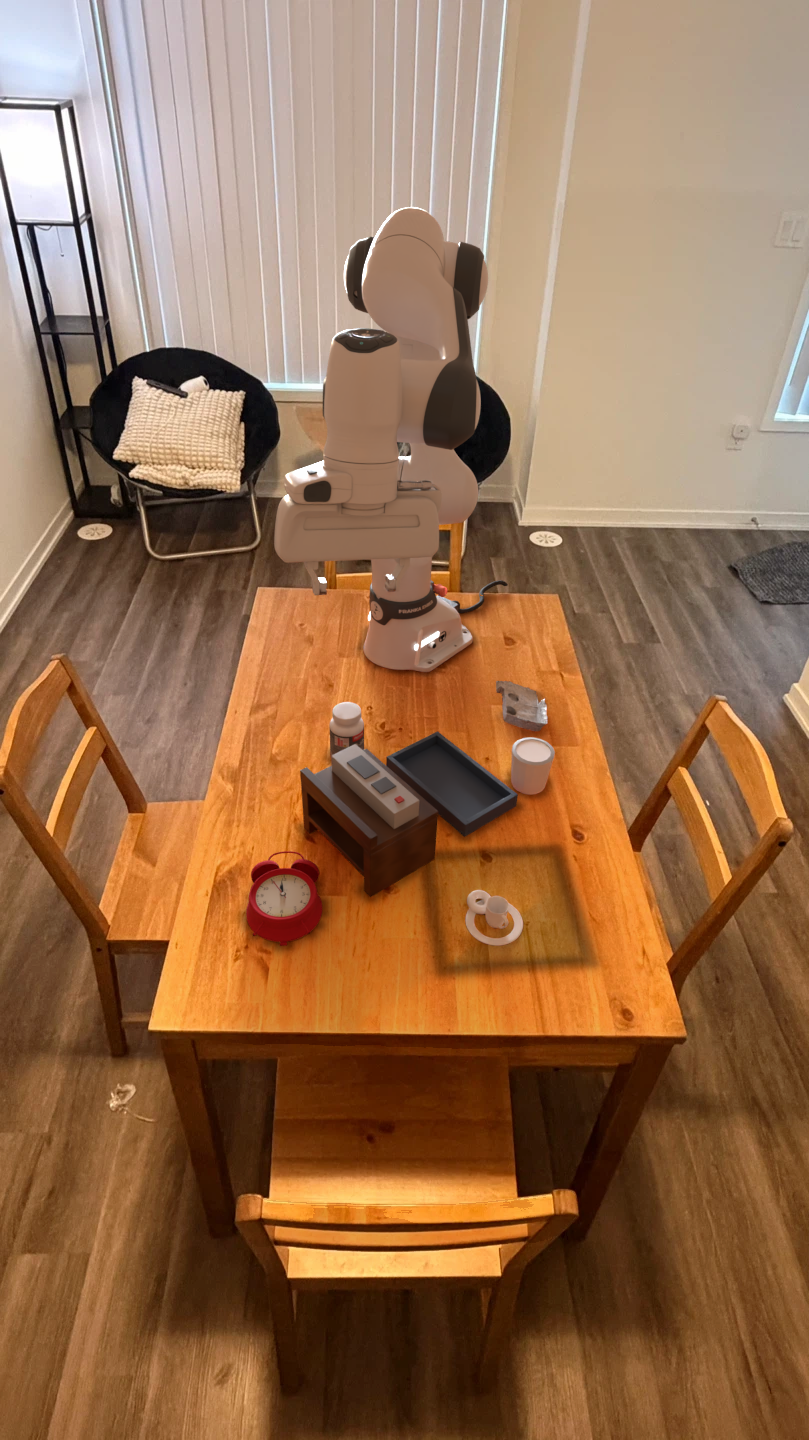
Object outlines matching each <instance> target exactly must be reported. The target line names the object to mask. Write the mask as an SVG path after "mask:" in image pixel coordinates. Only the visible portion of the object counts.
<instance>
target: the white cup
mask: <svg viewBox="0 0 809 1440" xmlns="http://www.w3.org/2000/svg"><path fill="white" fill-rule="evenodd" d="M555 755H556V751H555V749H554V747H553V746H552V745H551V744H550V743H549V742H548V741H546V740H544V739H542V738H539V737H533V736H532V737H531V736H530V737H523V738H520V739H518V740H516V741H515V742H514V743H513V744H512V747H511V764H510V765H511V769H510V770H511V771H510V783H511V786H512V788H514V789H515V790H516V791H517V792H520V793H521V794H525V795H529V796H530V795H537V794H539V793H542V792H543V791H544V790H545V789H546V785H547V782H548V778H549V776H550V772H551V770H552V766H553V762H554V758H555Z"/></svg>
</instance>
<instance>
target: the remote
mask: <svg viewBox="0 0 809 1440" xmlns="http://www.w3.org/2000/svg"><path fill="white" fill-rule="evenodd" d="M330 760H331V766H332V771H333V772H334V773H335V774H336V775H337V776H338V777H339V778H340V779H341V780H342V781H343V782H344V783H345V784H346V785H348V786H349V787H350V788H351V789H352V790H353V791H354V792H355V793H356V794H357V795H358V796H359V797H360V798H361V799H362V800H363V801H365V802H366V803H367V804H368V805H369V806H370V807H371V808H372V809H373V810H374V811H375V812H376V813H377V814H378V815H379V816H380V817H382V818H383V819H384V820H385V821H386V822H387V823H388V824H389V825H390V826H391V827H392V828H393V829H395V828H397V827H399V826H401V825H403V824H404V823H406V822H408V821H410V820H412V819H413V818H415V817H417V816H419V800H418V799H417V798H416V797H415V796H414V795H413V794H412V793H410V792H409V791H408V790H407V789H406V788H405V787H404V786H402V785H401V784H400V783H399V782H398V781H397V780H396V779H395V778H393V777H392V776H391V775H390V774H389V773H388V772H387V771H385V770H384V769H383V768H382V767H381V766H380V765H379V764H378V763H376V762H375V761H374V760H373V759H372V758H371V757H370V756H368V755H367V754H366V753H365V752H364V751H363V750H362V749H361V748H359V747H358V746H357V745H356V744H354V745H352V746H350V747H348V748H346V749H344V750H342V751H340V752H338V753H336V754H334V755H332V756H330Z"/></svg>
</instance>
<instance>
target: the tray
mask: <svg viewBox="0 0 809 1440" xmlns="http://www.w3.org/2000/svg"><path fill="white" fill-rule="evenodd" d="M385 761H386V762H385V763H386V764H385V765H386V766H387V767H388V768H389V769H390V770H392V771H393V772H394V773H395V774H396V775H397V776H398V777H400V778H401V779H402V780H403V781H404V782H405V783H406V784H408V785H409V786H410V787H411V788H412V789H413V790H414V791H416V792H417V793H418V794H419V795H420V796H421V797H422V798H424V799H425V800H426V801H427V802H428V803H429V804H430V805H432V806H433V807H434V808H435V809H436V810H437V811H438V816H440V817H441V818H442V819H443V820H444V821H445V822H446V823H448V825H450V827H452V828H453V829H454V830H455V831H457V832H458V833H459V834H460V835H461V836H462V837H464V838H466V837H468V836H470V834H472V833H474V832H475V831H478V830H479V829H481V828H483V827H484V826H485V825H487V824H489V823H491V822H492V821H494V820H495V819H497V818H499V817H501V816H502V815H504V814H506V813H507V812H509V811H512V810H513V809H514V808H517V804H518V797H519V794H518V793H517V792H515V791H514V790H513V789H512V788H510V786H508V785H507V784H505V783H504V782H503V781H501V780H500V779H499V778H497V776H495V775H494V774H493V773H491V772H490V771H489V770H487V769H486V768H485V767H484V766H483V765H481V764H480V763H479V762H477V761H476V760H475V759H474V758H473V757H471V756H470V755H468V754H467V753H466V752H465V751H463V750H462V749H461V748H459V747H458V746H457V745H456V744H454V742H453V741H451V740H450V739H448V738H447V737H446V736H444V735H443V734H442V733H441V732H439V731H435V732H433V733H431V734H428V735H427V736H425V737H423V738H421V739H418V740H417V741H415V742H413V743H411V744H409V745H407V746H405V747H403V748H401V749H399V750H396V751H395V752H393V753H391V754H389V755H387V756H386V760H385Z"/></svg>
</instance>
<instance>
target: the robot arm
mask: <svg viewBox="0 0 809 1440" xmlns="http://www.w3.org/2000/svg"><path fill="white" fill-rule="evenodd" d="M343 282H344V288H345V290H346V295H347V299H348V301H349V303H350V304H351V305H352V307H353V308H354V310H357V311H359V312H363V313H365V314H368V315H369V317H370V318H371V319H372V321H373V322H374V323H375V324H376V325H377V326H378V327H379V328H381V329H378V328H377V329H376V328H371V327H370V328H367V327H365V328H364V327H360V328H359V327H358V328H357V327H355V328H353V329H345V330H342V331H340V332H338V333H336V334H335V335H334V336H333V338H332V340H331V343H330V348H329V353H328V359H327V365H326V373H325V377H324V379H323V383H322V417H323V418H324V420H325V421H324V422H325V424H326V440H325V444H324V447H323V457H322V459H323V460H322V461H321V460H320V461H319V462H316V463H313V464H310V465H307V466H304V467H302V468H301V467H300V468H298V469H295V470H292V471H289V472H288V473H286V474H285V475H284V476H283V477H284V478H283V486H284V490H285V493H286V495H284V496H283V497H282V498H281V499H280V501H279V504H278V507H277V509H276V516H275V517H276V518H275V524H274V535H273V536H274V537H273V542H274V543H273V544H274V545H273V546H274V550H275V554H276V555H277V556H278V557H279V558H280V560H281V561H283V563H303V567H304V568H305V570H306V571H307V573H308V575H309V576H310V578H311V582H312V585H311V586H312V587H311V588H312V593H313V595H314V596H326V595H328V590H327V588H328V581H327V580H326V578H325V577H318V575H317V573H316V572H315V571H317V570H318V569H319V562H338V561H339V562H341V561H365V560H366V561H367V560H369V561H370V563H371V564H370V565H371V583H370V585H369V603H368V604H369V614H368V615H367V620H368V628H367V633H366V637H365V641H364V643H363V647H362V648H363V649H362V650H363V654H364V656H365V657H366V658H367V659H368V660H369V661H370V662H372V664H375V665H377V666H379V667H382V668H385V669H390V670H396V671H406V670H407V671H408V670H409V671H410V670H411V671H416V672H420V673H429V672H432V671H433V670H435V669H436V668H438V667H440V665H442V664H443V663H445V662H446V661H448V660H449V659H451V658H452V657H454V656H455V655H457V654H458V653H460V652H461V651H463V650H464V649H465V648H467V647H468V646H470V645H472V643H473V642H474V641H473V640H474V639H473V634H472V633H471V631H470V630H469V629H468V628H467V627H466V626H465V625H464V624H462V618H461V615H460V614H466V613H471V612H473V611H475V610H477V609H479V608H481V607H482V606H483V605H484V603H485V593H486V592H487V591H488V590H490V589H491V588H493V587H496V586H503V587H507V586H508V585H509V584H508V583H507V582H506V581H505V580H500V579H499V580H495V581H492V582H490V583H488V584H486V585H485V586H484V587H482V588H481V589H480V590H479V592H478V593H479V594H478V596H479V601H478V602H477V603H475V604H473V605H472V606H470V607H466V608H461V603H460V602H459V601H458V600H451V599H448V598H446V596H447V595H448V591H449V590H448V588H447V587H446V586H443V585H442V584H441V583H437V584H435V581H433V580H432V569H433V557H434V555H436V554H437V552H438V551H439V549H440V526H442V525H443V526H445V525H454V524H462V523H464V522H465V521H467V520H468V519H469V517H471V515H472V514H473V513H474V511H475V509H476V506H477V504H478V500H479V486H478V480H477V478H476V476H475V474H474V472H473V471H472V469H471V468H470V467H469V466H468V465H467V464H466V463H465V462H464V461H463V460H462V459H461V458H460V457H459V456H458V454H457V453H456V451H455V449H456V448H458V447H459V446H460V445H462V444H464V443H465V442H466V441H468V439H470V438H472V436H473V435H474V434H475V431H476V429H477V426H478V424H479V421H480V415H481V406H482V405H481V402H482V401H481V390H480V386H479V382H478V379H477V373H476V369H475V366H474V365H475V364H474V359H473V351H472V345H471V336H470V335H471V333H470V327H469V320H470V319H472V318H473V316H474V315H475V314H477V313H478V312H479V310H480V306H481V305H482V304H483V302H484V300H485V298H486V293H487V292H488V291H487V290H488V285H489V271H488V267H487V263H486V260H485V254H484V253H483V251H482V249H481V248H480V247H479V246H476V245H474V244H471V243H467V242H465V241H459V243H457V242H454V241H449V240H445V239H444V232H443V230H442V227H441V225H440V224H439V222H438V221H437V220H436V218H435V216H433V215H432V214H430V213H429V212H428V211H427V210H425V209H422V208H419V207H416V206H415V207H414V206H410V207H409V206H408V207H403V208H400V209H398V210H395V211H394V212H393V213H391V214H390V215H389V216H388V217H387V218H386V220H385V221H384V222H383V223H382V225H381V226H380V228H379V230H378V231H377V233H376V234H375V236H368V237H366V238H362V239H358V240H357V241H356V242H355V243H354V244H353V245H352V246H351V247H350V249H349V252H348V255H347V257H346V260H345V264H344V270H343ZM398 443H404V444H409V447H410V455H408V456H402V455H401V456H400V451H399V445H398ZM480 594H481V595H483V596H480Z"/></svg>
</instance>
